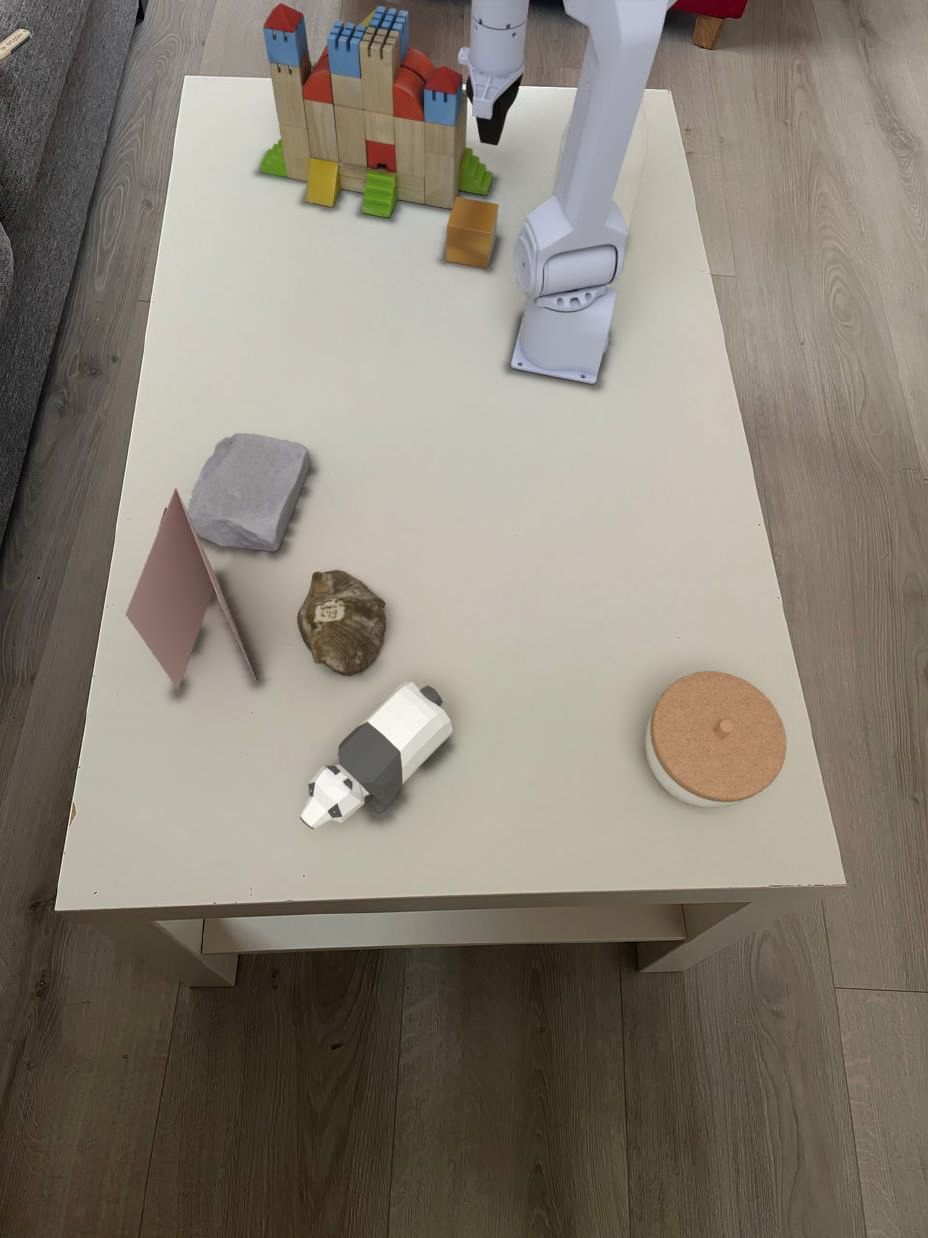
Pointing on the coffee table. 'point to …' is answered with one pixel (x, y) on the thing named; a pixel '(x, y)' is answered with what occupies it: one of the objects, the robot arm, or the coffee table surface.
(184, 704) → the coffee table surface
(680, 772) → the trinket box
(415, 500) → the coffee table surface
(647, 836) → the coffee table surface
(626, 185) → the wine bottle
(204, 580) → the greeting card
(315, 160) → the block set
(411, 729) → the giant panda
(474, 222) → the ochre block
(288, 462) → the stone block
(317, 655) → the fossilized seashell
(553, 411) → the coffee table surface
